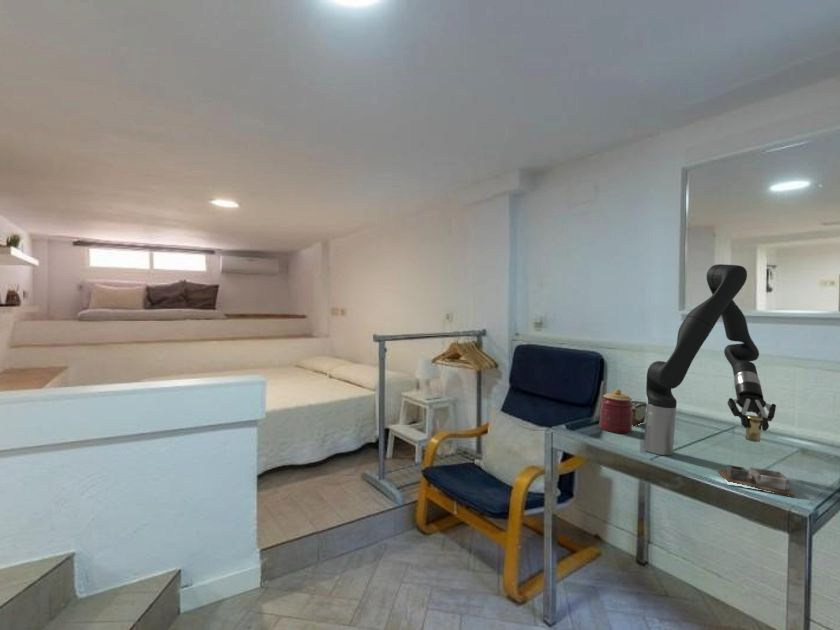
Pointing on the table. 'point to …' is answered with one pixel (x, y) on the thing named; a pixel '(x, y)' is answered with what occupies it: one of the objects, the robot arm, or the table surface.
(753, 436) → the gold round-topped cylinder
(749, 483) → the collar base
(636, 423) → the food container
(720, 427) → the table surface
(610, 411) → the canister
